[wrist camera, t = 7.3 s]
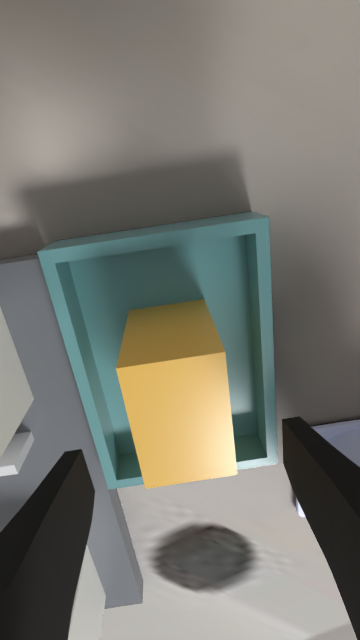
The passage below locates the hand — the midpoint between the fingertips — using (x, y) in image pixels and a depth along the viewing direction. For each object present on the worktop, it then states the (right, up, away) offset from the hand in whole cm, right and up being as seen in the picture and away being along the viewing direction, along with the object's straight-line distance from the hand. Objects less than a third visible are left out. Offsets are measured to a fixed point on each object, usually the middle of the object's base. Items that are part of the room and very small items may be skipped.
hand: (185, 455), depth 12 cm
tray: (-1, +3, +8) cm, 8 cm away
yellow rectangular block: (-1, +3, +7) cm, 8 cm away
